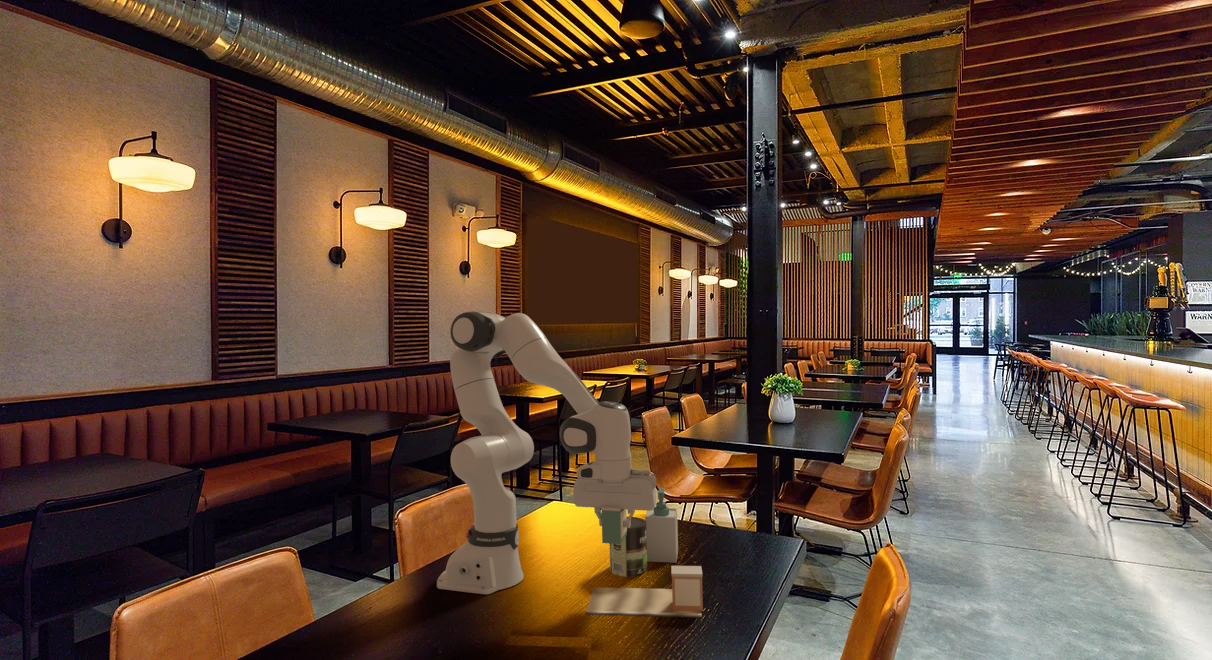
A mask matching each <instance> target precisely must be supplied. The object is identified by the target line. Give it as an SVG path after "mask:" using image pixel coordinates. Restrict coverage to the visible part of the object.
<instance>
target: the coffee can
mask: <svg viewBox="0 0 1212 660" xmlns="http://www.w3.org/2000/svg"><path fill="white" fill-rule="evenodd" d="M628 517H629V516H627V518H628ZM646 525H647V522H646V521H645V518H640V517H638V516H637V517H636V516H632V518H631V526H630V528H627V535H626V537H625V538H624V540H623V541H622V543H621V544H610V543H608V544H609V570H610V572H611V573H612V574H613V575H615V576H618V577H625V578H628V577H629V578H630V577H638V576H641V575H644V574H645V573H646V572H647V571H648V562H647V539H646Z"/></svg>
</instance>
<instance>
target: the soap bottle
mask: <svg viewBox="0 0 1212 660" xmlns="http://www.w3.org/2000/svg"><path fill="white" fill-rule="evenodd" d="M657 499H658V501H656V506H655V507H654V508H653V509H652V510H651V511H646V514H645V516H644V520H645V521H646V522H647V525H646V539H647V563H649V562H652V563H671V564H672V563H673V564H674V563H675V564H677V560H678V553H679V540H678V539H679V537H678V536H679V533H678V530H679V529H678V508H671V507H670V508H669V506H667V503H666V502H665V501H664V499H665V488H664V487H660V488H659V489H658V490H657Z"/></svg>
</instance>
